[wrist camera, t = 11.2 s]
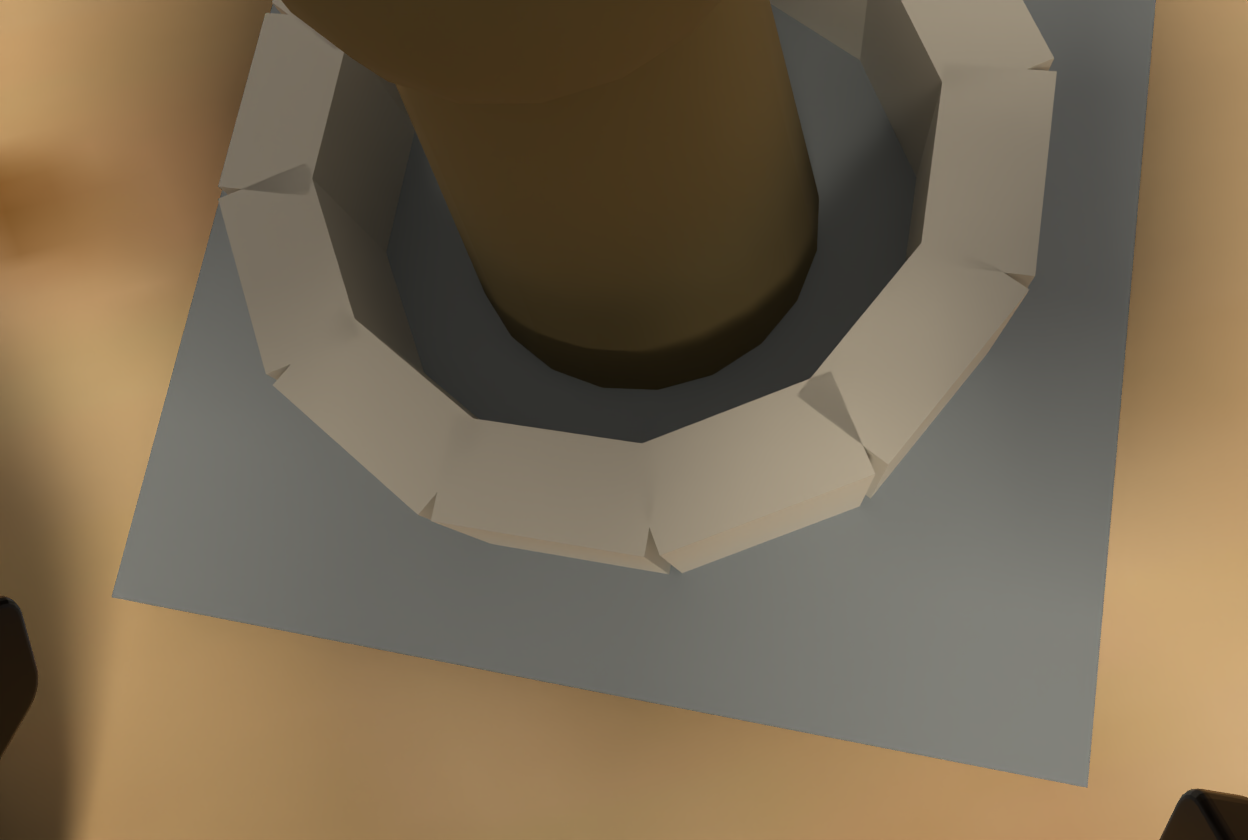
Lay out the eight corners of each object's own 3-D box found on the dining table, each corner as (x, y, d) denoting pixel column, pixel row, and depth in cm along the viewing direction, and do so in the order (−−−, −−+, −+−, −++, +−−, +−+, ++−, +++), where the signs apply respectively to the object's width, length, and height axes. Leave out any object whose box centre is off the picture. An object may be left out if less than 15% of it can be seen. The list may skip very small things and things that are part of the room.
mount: (1068, 779, 16) (1159, 819, 12) (146, 600, 19) (-19, 585, 15) (1150, -121, 19) (1243, -319, 15) (345, -154, 22) (251, -326, 18)
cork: (588, 14, 19) (333, -794, 8) (885, 151, 18) (1034, -615, 7) (410, 289, 18) (-107, -210, 8) (704, 456, 17) (564, 124, 6)
